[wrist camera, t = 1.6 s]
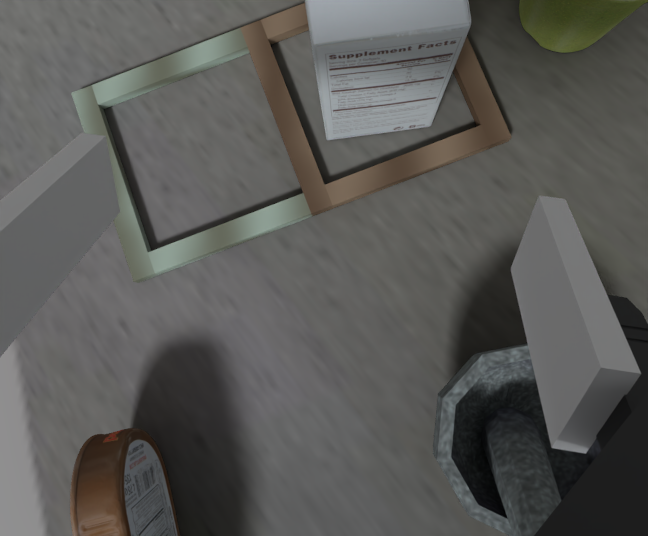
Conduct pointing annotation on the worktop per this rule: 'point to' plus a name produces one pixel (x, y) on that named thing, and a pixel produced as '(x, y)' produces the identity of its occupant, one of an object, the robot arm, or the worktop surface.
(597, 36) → the plant pot
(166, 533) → the tin
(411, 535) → the worktop surface
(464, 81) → the metal double frame
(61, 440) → the worktop surface
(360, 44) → the supplement box
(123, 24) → the worktop surface
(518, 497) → the mortar and pestle
